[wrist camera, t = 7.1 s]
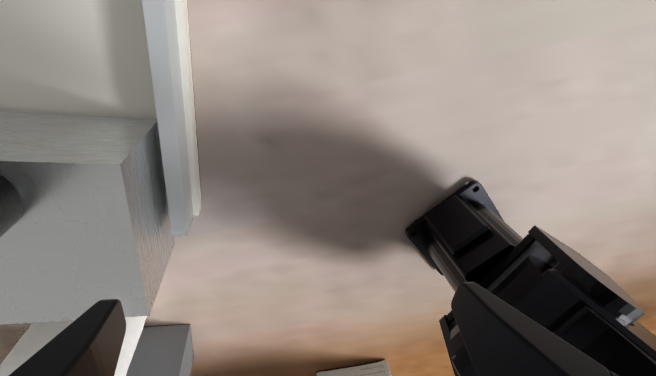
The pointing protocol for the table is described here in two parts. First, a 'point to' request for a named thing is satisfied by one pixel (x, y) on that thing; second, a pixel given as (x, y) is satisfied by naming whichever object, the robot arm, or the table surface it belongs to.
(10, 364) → the white pouch
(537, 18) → the table surface
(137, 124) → the block
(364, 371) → the supplement box
